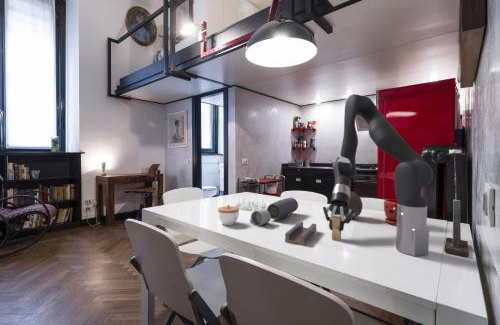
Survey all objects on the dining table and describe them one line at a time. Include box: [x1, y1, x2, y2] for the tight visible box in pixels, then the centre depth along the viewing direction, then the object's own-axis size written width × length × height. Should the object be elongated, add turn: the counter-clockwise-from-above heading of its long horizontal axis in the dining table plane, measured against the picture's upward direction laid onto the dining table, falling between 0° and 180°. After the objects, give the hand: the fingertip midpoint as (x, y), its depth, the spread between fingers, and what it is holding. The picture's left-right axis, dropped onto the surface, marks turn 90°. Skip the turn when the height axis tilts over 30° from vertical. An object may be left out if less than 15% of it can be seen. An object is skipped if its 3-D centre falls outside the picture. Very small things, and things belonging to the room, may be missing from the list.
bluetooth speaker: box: [266, 197, 299, 220], centre depth 140 cm, size 23×9×10 cm, turn 145°
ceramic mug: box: [249, 209, 272, 227], centre depth 126 cm, size 11×8×8 cm
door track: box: [284, 221, 318, 246], centre depth 107 cm, size 20×8×4 cm, turn 152°
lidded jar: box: [217, 205, 240, 226], centre depth 126 cm, size 11×11×9 cm
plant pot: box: [383, 199, 397, 227], centre depth 127 cm, size 13×13×12 cm
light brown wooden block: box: [331, 214, 342, 242], centre depth 104 cm, size 4×3×10 cm
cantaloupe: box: [344, 190, 363, 219], centre depth 139 cm, size 14×14×15 cm
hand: (335, 229), depth 102 cm, fingers closed on light brown wooden block, 3 cm apart
